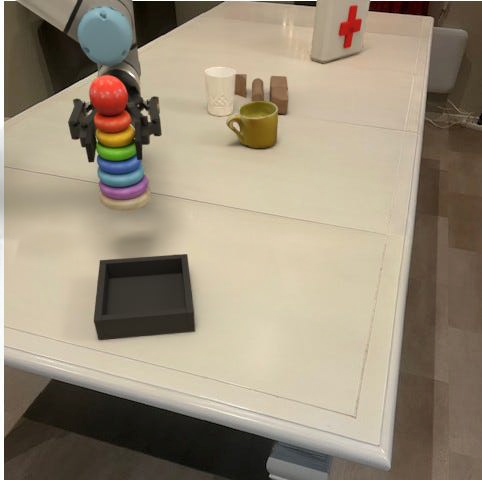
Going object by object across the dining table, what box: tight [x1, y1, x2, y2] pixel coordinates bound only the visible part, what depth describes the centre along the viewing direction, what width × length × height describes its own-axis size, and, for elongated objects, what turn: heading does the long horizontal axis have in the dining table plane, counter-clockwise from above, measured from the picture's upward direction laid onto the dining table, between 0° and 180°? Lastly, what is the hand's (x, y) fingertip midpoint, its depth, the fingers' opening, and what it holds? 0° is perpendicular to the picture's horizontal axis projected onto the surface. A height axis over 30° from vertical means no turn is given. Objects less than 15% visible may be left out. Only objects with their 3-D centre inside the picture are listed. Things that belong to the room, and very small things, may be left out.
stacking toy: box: [88, 75, 152, 212], centre depth 70 cm, size 8×8×19 cm
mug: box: [225, 100, 279, 149], centre depth 113 cm, size 12×10×10 cm
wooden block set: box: [235, 73, 289, 115], centre depth 132 cm, size 17×6×18 cm
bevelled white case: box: [310, 0, 371, 64], centre depth 160 cm, size 21×8×20 cm, turn 132°
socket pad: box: [93, 253, 196, 341], centre depth 72 cm, size 14×14×4 cm
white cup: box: [204, 66, 237, 117], centre depth 125 cm, size 8×8×10 cm
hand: (114, 151), depth 66 cm, fingers closed on stacking toy, 6 cm apart
